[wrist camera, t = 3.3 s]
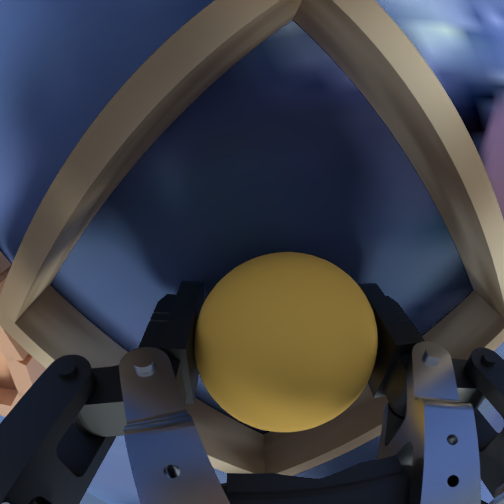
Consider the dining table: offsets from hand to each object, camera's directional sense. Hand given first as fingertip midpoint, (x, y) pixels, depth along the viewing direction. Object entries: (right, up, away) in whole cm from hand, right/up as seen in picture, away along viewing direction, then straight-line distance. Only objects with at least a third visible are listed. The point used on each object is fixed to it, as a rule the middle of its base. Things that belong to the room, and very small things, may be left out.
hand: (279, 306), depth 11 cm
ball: (0, -1, -2) cm, 2 cm away
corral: (0, 0, +1) cm, 1 cm away
